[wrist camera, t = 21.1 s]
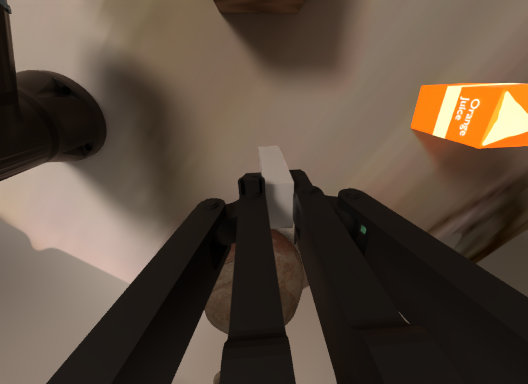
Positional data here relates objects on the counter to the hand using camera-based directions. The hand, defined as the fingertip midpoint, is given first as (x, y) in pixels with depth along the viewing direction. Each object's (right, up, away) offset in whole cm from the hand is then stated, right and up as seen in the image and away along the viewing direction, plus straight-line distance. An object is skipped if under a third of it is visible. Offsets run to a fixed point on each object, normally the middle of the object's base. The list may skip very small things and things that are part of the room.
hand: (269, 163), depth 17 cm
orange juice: (+33, +14, +24) cm, 43 cm away
